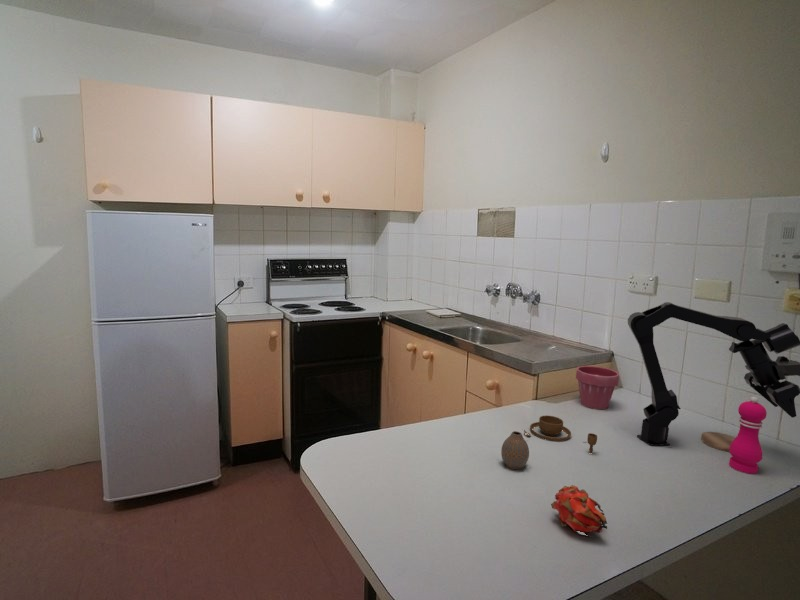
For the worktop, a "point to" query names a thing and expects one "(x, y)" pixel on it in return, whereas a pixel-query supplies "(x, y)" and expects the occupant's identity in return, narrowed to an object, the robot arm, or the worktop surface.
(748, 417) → the pepper mill
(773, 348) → the robot arm
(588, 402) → the plant pot
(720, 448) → the walnut base
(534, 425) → the place setting
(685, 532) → the worktop surface
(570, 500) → the dragon fruit
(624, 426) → the worktop surface
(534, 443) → the worktop surface
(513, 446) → the vase
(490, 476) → the worktop surface
